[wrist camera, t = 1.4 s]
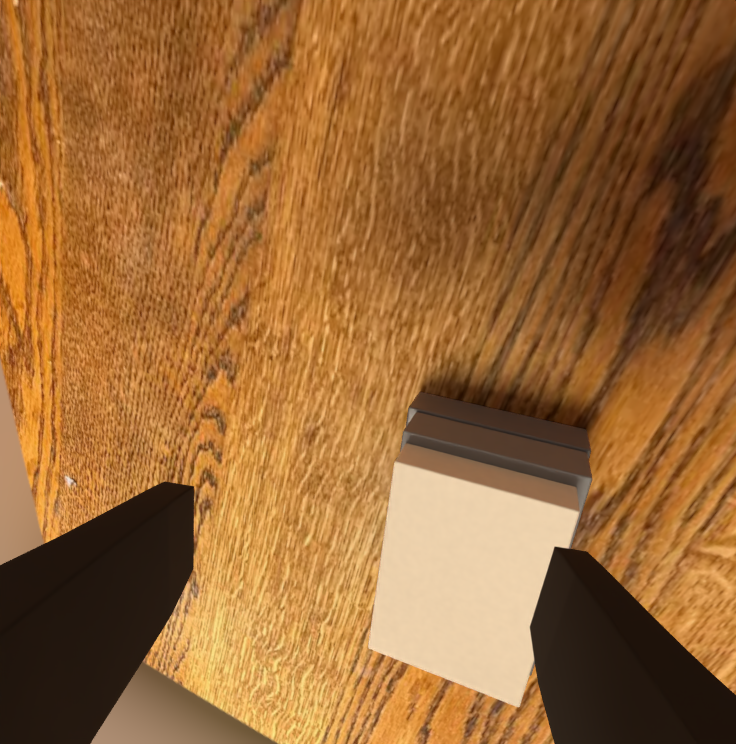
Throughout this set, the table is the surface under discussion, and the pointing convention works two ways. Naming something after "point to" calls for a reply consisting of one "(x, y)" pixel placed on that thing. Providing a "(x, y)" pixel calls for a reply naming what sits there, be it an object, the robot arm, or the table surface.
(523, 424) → the grey books
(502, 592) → the cream rectangular slab
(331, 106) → the table surface
